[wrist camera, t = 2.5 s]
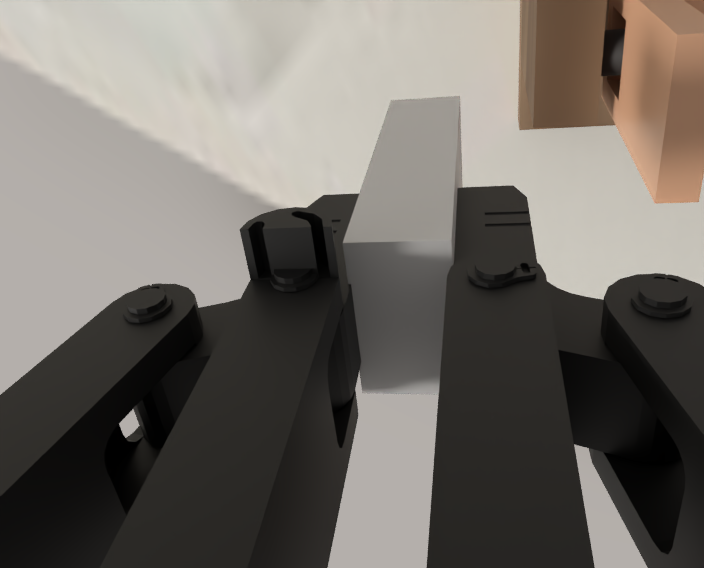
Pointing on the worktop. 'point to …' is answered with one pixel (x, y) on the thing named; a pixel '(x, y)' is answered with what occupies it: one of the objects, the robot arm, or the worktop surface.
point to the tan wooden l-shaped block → (661, 93)
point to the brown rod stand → (566, 63)
